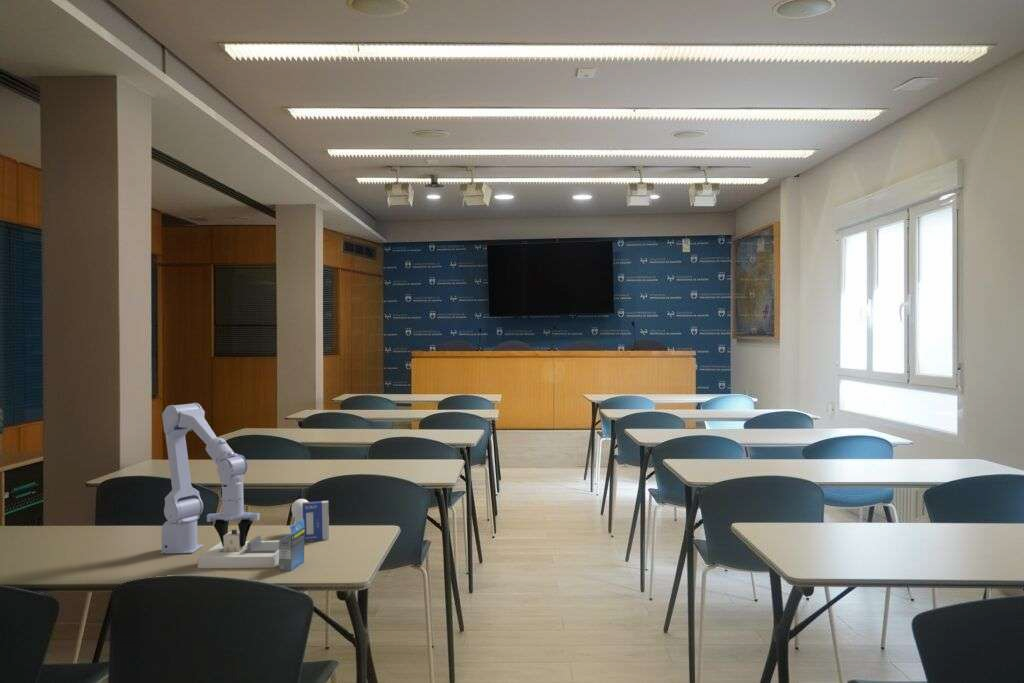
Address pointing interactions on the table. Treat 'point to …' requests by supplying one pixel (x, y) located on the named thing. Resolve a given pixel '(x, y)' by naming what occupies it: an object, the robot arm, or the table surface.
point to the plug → (232, 542)
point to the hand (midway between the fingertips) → (234, 545)
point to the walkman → (316, 520)
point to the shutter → (261, 546)
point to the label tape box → (292, 548)
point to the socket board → (237, 558)
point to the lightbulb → (298, 510)
